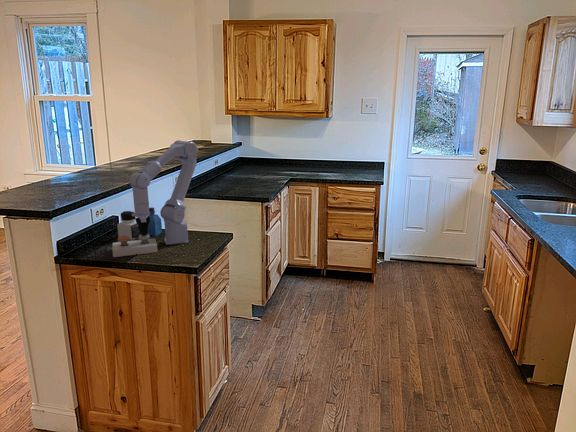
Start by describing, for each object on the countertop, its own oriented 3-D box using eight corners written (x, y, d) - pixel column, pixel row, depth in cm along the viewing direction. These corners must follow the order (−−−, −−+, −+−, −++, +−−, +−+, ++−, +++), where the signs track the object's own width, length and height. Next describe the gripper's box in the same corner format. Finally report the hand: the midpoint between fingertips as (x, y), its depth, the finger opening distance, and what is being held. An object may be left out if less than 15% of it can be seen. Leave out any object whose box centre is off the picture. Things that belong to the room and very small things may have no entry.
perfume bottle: (155, 235, 208) (153, 210, 205) (143, 235, 210) (141, 209, 206) (162, 232, 214) (160, 207, 211) (149, 231, 215) (147, 206, 212)
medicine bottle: (132, 240, 202) (129, 214, 198) (118, 239, 203) (115, 213, 200) (141, 235, 208) (139, 210, 205) (128, 234, 210) (125, 209, 207)
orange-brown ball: (130, 244, 189) (129, 235, 188) (130, 247, 185) (129, 238, 184) (118, 245, 187) (117, 236, 187) (118, 248, 183) (117, 239, 182)
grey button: (150, 242, 192) (149, 233, 191) (151, 245, 187) (150, 236, 187) (139, 243, 190) (138, 234, 189) (139, 246, 186) (138, 237, 185)
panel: (155, 245, 195) (155, 238, 194) (157, 252, 187) (157, 245, 186) (113, 249, 190) (112, 242, 189) (113, 257, 181) (112, 249, 180)
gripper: (130, 199, 190) (133, 231, 193) (131, 207, 176) (134, 241, 180) (148, 198, 192) (150, 229, 195) (150, 205, 179) (153, 239, 182)
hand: (144, 234), depth 188 cm, fingers closed
